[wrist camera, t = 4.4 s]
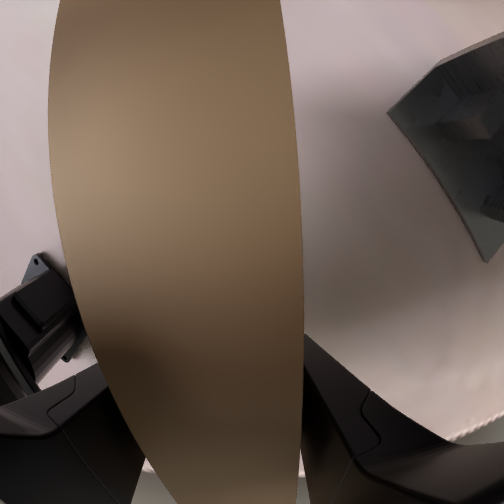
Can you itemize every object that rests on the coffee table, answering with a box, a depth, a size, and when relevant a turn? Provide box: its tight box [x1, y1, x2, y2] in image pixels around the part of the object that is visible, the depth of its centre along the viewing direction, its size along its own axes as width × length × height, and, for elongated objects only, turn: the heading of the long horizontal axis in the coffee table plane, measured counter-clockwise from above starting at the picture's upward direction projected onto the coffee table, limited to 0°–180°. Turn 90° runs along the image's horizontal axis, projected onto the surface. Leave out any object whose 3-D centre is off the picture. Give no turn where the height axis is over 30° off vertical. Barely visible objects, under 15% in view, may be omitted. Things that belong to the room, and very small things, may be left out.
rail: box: [48, 0, 304, 504], centre depth 7 cm, size 14×4×5 cm, turn 5°
